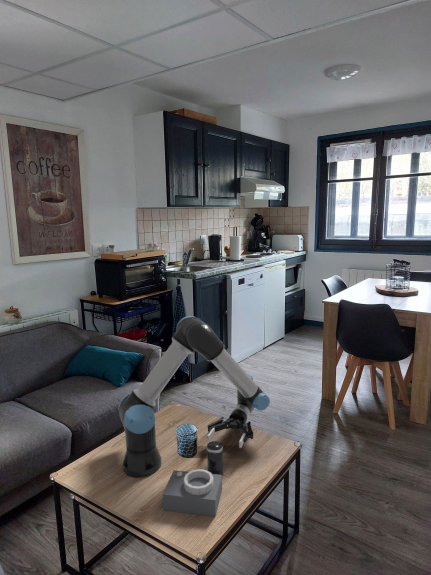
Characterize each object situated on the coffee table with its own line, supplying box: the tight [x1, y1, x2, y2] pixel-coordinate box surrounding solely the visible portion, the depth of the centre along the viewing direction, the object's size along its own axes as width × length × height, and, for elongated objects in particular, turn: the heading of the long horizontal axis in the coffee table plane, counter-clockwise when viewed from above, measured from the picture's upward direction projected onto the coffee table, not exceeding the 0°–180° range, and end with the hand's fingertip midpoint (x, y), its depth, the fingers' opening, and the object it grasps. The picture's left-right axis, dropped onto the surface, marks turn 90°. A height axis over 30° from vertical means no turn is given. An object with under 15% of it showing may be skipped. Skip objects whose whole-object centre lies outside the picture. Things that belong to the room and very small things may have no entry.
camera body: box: [162, 468, 223, 517], centre depth 138 cm, size 18×13×8 cm
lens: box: [206, 440, 224, 477], centre depth 151 cm, size 6×6×12 cm
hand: (223, 441), depth 160 cm, fingers open, 13 cm apart
